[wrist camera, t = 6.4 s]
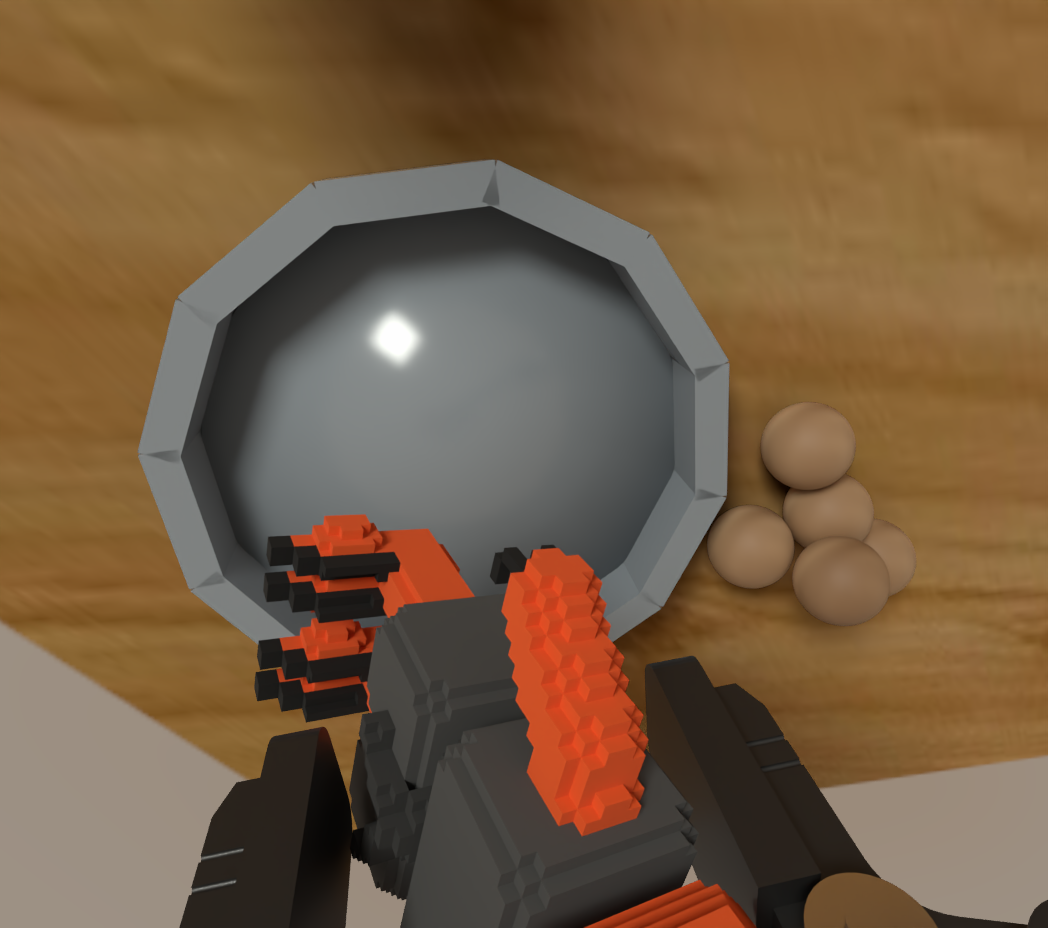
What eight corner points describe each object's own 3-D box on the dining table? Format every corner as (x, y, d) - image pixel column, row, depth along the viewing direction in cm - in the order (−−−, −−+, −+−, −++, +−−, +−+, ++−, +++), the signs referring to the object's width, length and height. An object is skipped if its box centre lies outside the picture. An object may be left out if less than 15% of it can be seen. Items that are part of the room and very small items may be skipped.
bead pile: (903, 372, 23) (1022, 423, 18) (878, 563, 26) (974, 646, 22) (693, 405, 22) (764, 467, 18) (694, 597, 25) (755, 690, 21)
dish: (696, 133, 19) (733, 129, 17) (697, 605, 26) (724, 647, 23) (90, 207, 17) (45, 214, 15) (262, 687, 24) (247, 740, 22)
